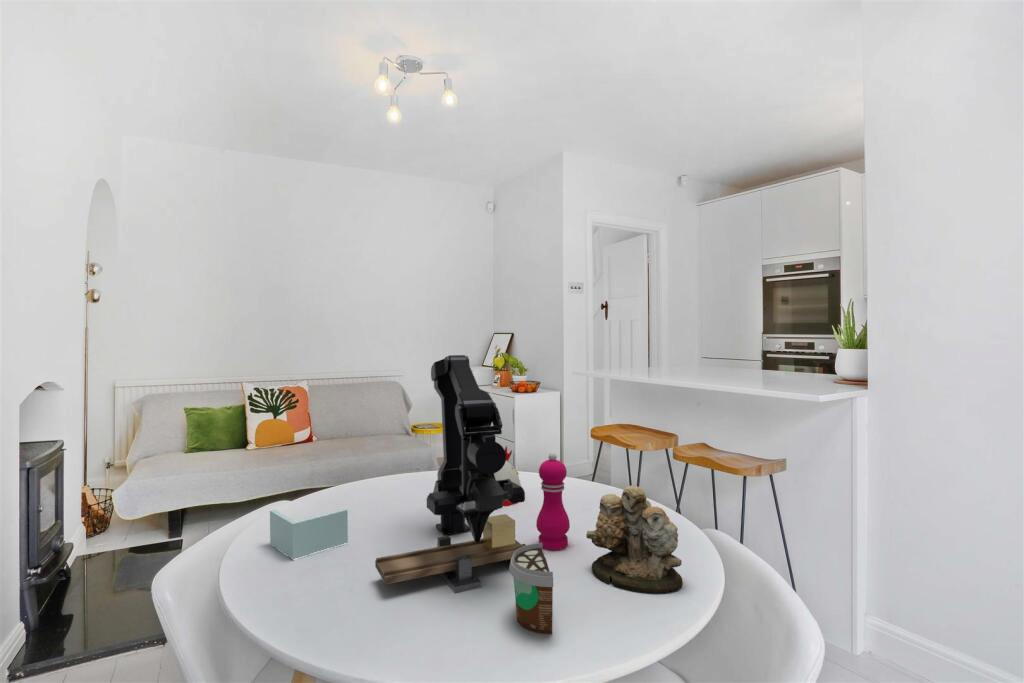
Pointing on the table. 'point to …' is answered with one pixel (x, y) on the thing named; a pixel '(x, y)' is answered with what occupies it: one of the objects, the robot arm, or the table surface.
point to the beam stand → (460, 571)
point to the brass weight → (499, 532)
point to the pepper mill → (553, 506)
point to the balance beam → (438, 560)
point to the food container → (532, 588)
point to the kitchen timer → (508, 475)
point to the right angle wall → (308, 533)
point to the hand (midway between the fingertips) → (476, 541)
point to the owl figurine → (636, 544)
